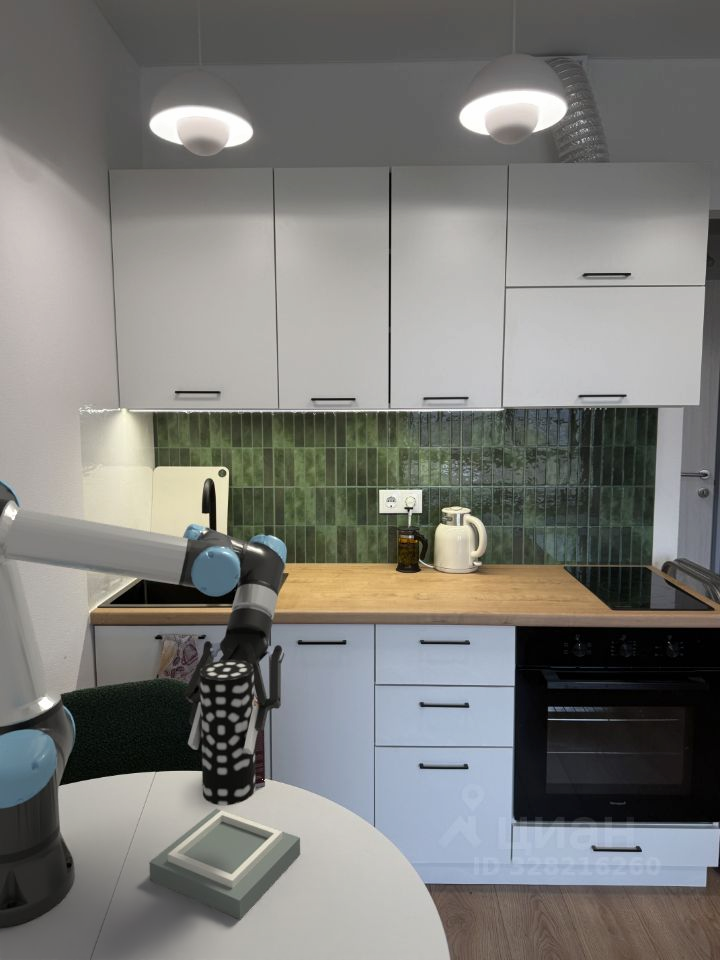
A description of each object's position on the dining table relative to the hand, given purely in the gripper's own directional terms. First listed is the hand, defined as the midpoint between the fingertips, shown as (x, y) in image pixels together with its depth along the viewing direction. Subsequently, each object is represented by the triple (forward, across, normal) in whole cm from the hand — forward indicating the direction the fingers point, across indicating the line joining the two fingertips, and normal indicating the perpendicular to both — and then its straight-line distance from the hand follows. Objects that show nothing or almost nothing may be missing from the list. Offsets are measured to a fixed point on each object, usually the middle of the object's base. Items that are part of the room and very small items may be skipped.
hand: (220, 748), depth 100 cm
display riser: (+13, +1, -19) cm, 23 cm away
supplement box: (-5, +6, -37) cm, 38 cm away
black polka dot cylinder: (+4, 0, -9) cm, 10 cm away
